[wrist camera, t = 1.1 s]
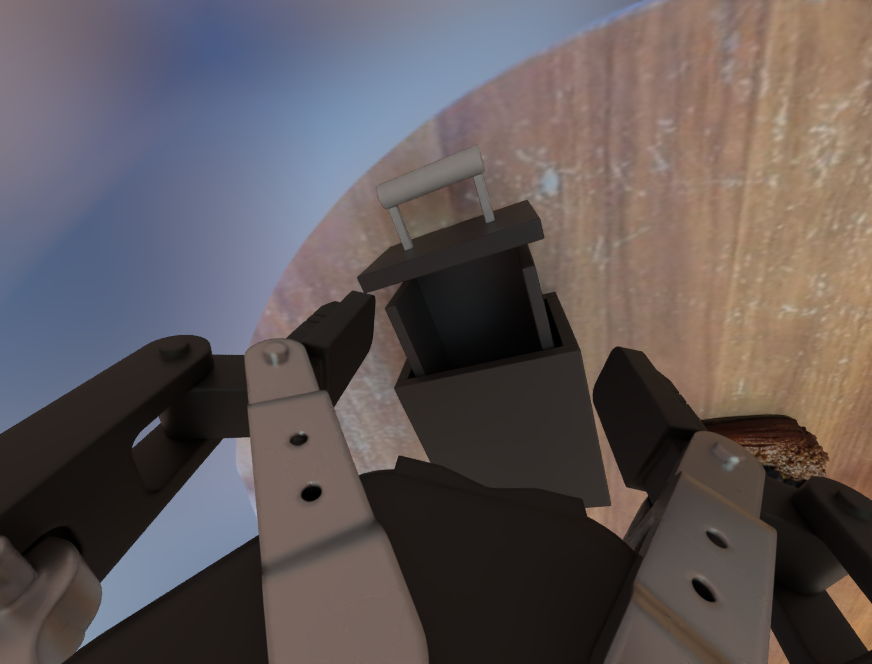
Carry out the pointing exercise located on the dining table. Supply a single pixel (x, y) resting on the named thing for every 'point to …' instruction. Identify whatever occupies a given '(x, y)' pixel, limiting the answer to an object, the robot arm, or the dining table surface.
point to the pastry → (775, 445)
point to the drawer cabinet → (514, 419)
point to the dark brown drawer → (461, 276)
